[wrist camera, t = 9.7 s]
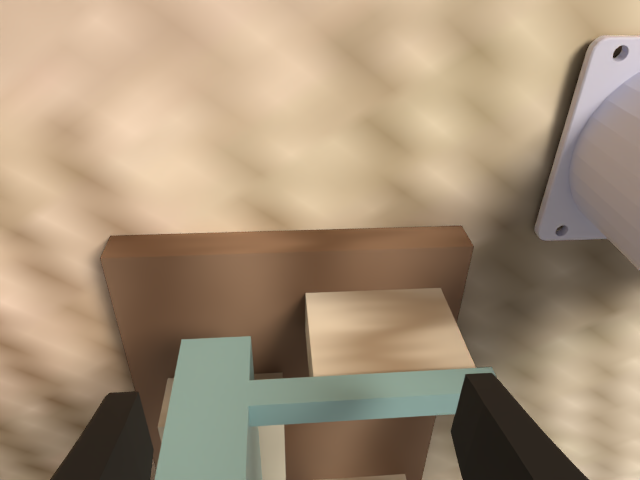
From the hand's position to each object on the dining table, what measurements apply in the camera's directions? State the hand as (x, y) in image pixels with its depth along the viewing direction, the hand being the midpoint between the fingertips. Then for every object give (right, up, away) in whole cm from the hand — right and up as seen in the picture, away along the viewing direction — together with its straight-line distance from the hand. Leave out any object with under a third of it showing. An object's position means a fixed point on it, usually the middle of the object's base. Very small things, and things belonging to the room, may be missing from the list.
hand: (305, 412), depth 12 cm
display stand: (-1, -4, +14) cm, 15 cm away
